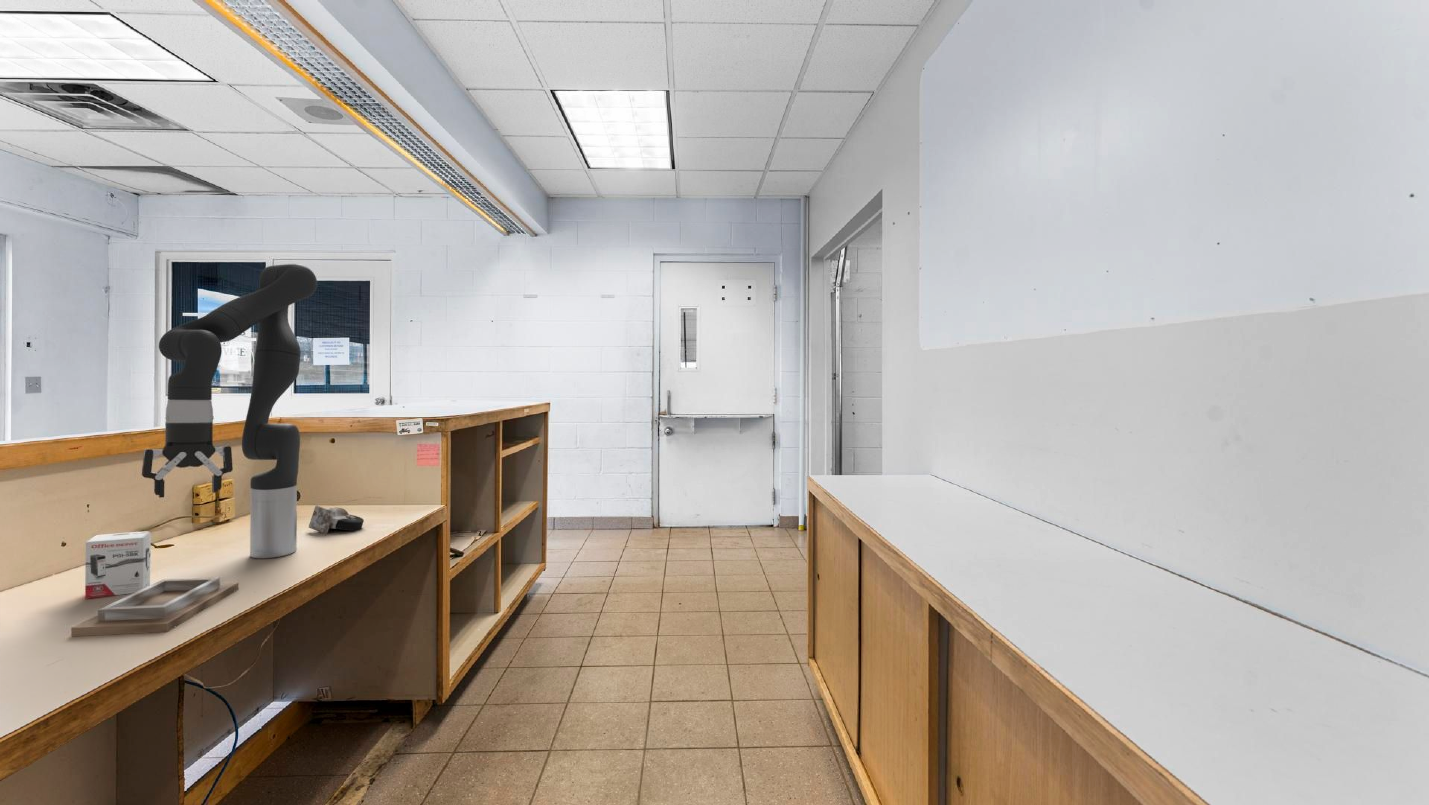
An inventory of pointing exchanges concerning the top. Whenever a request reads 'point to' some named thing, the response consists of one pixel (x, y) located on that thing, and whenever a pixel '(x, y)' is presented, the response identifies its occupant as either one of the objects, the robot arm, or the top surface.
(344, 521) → the caster wheel
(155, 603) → the locator board
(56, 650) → the top surface
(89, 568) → the ink box
